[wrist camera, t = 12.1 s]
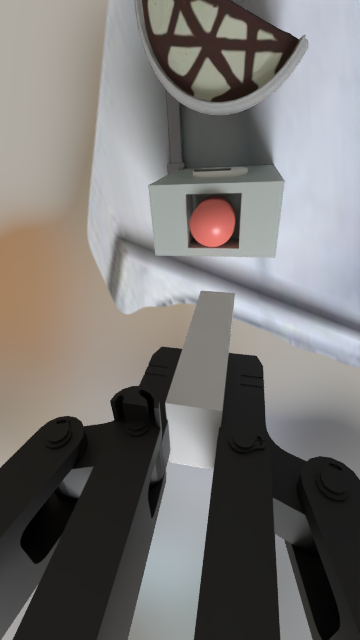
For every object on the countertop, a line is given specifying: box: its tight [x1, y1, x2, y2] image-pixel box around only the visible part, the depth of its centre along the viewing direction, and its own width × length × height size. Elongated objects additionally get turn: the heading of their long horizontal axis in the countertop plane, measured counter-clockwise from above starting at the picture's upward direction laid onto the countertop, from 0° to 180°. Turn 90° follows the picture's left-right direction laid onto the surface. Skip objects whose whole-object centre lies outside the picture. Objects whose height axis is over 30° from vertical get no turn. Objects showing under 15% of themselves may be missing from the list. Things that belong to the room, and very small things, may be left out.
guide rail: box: [166, 90, 186, 175], centre depth 28 cm, size 2×17×1 cm, turn 3°
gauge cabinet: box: [148, 165, 284, 258], centre depth 28 cm, size 10×6×12 cm, turn 93°
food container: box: [135, 0, 308, 115], centre depth 23 cm, size 12×6×10 cm, turn 67°
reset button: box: [190, 196, 236, 247], centre depth 23 cm, size 3×3×2 cm
